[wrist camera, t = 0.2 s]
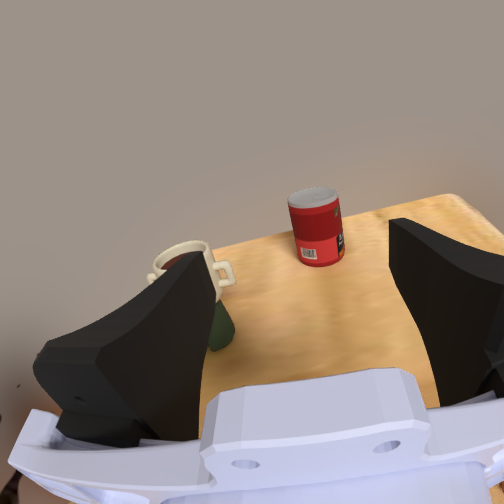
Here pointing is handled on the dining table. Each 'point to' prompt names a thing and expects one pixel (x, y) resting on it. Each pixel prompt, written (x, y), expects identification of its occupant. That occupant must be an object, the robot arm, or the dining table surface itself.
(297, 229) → the canned food
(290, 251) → the dining table surface
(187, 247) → the character mug
